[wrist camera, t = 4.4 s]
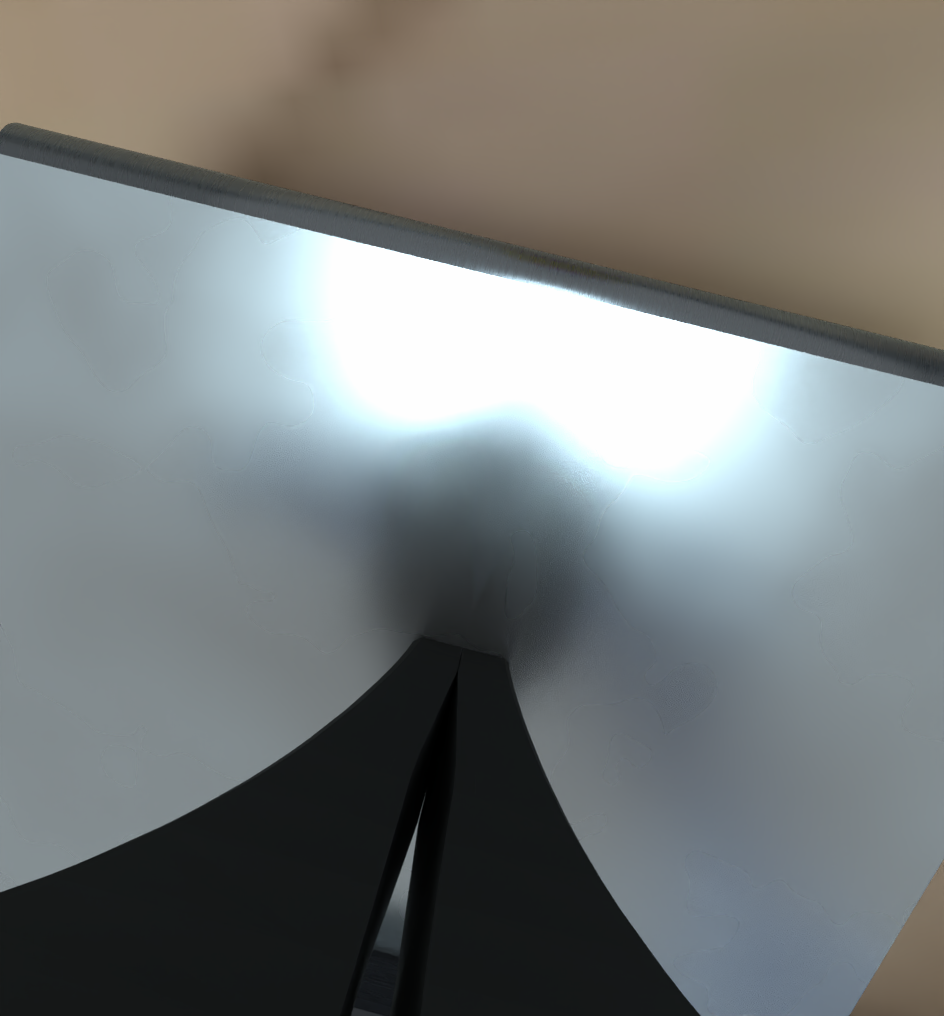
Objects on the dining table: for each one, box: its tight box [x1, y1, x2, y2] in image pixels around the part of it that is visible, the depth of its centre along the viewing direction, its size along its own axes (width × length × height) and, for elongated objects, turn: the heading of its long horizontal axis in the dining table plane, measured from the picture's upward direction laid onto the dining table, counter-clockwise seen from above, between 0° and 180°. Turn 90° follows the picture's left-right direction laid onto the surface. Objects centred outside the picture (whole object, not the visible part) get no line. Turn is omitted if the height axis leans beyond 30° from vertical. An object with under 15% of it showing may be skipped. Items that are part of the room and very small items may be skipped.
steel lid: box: [0, 123, 944, 1016], centre depth 10 cm, size 14×15×2 cm
